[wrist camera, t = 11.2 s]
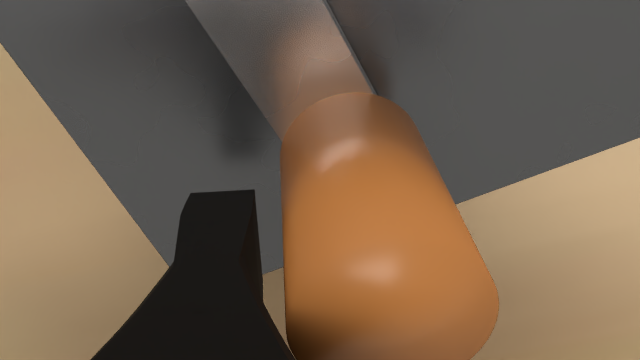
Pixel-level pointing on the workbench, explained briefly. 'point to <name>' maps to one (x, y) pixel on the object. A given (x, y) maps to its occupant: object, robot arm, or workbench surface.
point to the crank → (353, 197)
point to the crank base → (377, 62)
